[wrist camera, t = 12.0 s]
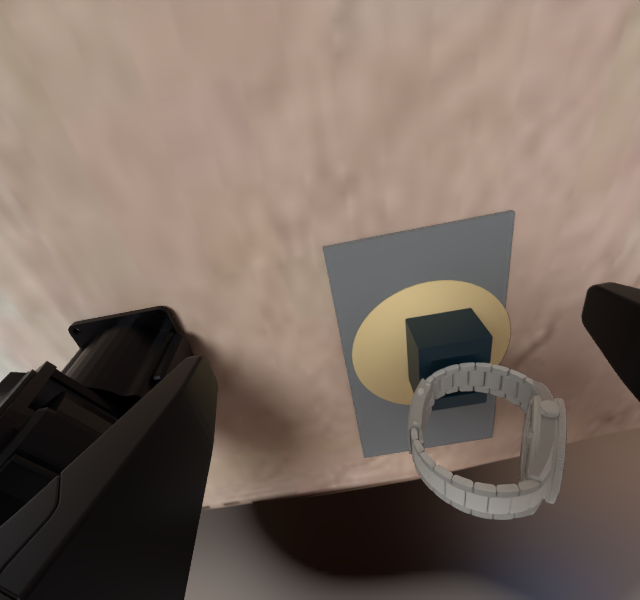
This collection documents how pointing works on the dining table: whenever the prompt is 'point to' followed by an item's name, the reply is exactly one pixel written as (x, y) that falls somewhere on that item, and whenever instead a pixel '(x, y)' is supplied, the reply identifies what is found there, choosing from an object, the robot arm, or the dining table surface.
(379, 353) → the mat
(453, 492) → the watch
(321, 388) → the dining table surface
